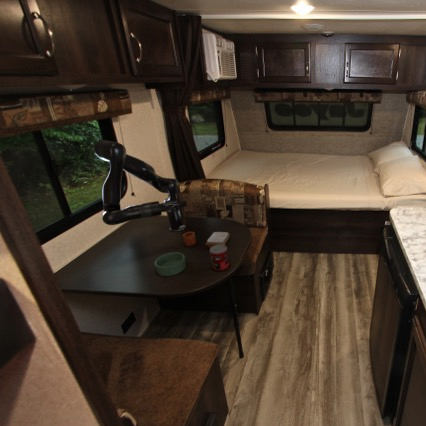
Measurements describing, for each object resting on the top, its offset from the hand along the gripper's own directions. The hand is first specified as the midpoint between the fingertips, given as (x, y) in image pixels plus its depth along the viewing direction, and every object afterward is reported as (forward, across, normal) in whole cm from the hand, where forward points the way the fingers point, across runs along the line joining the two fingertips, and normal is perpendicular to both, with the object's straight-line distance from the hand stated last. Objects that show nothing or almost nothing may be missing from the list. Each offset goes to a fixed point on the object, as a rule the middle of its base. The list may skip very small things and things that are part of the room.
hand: (186, 203), depth 157 cm
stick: (-3, 0, +12) cm, 12 cm away
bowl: (-14, -18, +26) cm, 34 cm away
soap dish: (+12, -6, +26) cm, 30 cm away
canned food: (+8, -29, +26) cm, 40 cm away
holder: (-2, +2, +26) cm, 26 cm away
